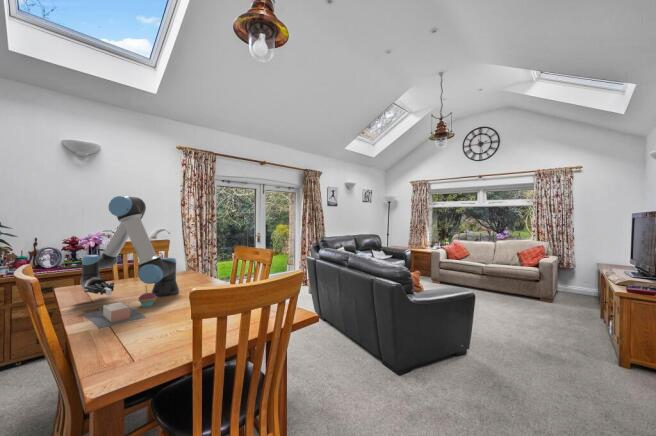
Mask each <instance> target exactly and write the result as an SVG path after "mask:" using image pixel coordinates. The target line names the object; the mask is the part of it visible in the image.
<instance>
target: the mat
mask: <svg viewBox="0 0 656 436" xmlns="http://www.w3.org/2000/svg"><path fill="white" fill-rule="evenodd" d="M125 305H126V306H128V307H130V306H129V305H127V304H125ZM83 315H84V316H85V317H86V318H87V319H88V320H89V321H91V323H93V324H94V325H95V326H96V327H97V328H98V329H99V330H100V329H104V328H105V329H106V328H108V327H113V326H117V325H120V324H124V323H128V322H131V321H132V322H133V321H136V320H140V319H144V318H145V319H146V317H147V316H146V315H144V314H142V313H141V312H139V311H137V310H136V309H134V308H133V307H130V318H128V319H124V320H120V321H116V322H111V321H110V320H108V319H107V318H106V317H104V316H103V309H101V310H95V311H90V312H85V313H83Z"/></svg>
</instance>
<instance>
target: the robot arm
mask: <svg viewBox="0 0 656 436" xmlns="http://www.w3.org/2000/svg"><path fill="white" fill-rule="evenodd" d="M146 205H147V204H146V203H145V202H144V201H143V199H141V198H139V197H136V196H128V195H117V196H114V197H113V198H112V199H111V200H110V201H109V203H108V211H109V212H110V214H112V215H114V216H115V217H116V219H117V221H118V222H119V225H118V226H117V228H116V230H115V232H114V234H113V236H112V237H111V239H110V240H109V242H108V243H107V246H106V247H105V249H104V251H103V252H102V254H101V255H98V254H89V255H87V254H86V255H83V256H82V259H81V260H82V261H81V279H80V281H79V283H80V286H81V287H82V288H84V289H83V290H84V293H91V294H95V295H98V294H100V295H104V294H105V295H106V296H112V292H114V288H115V282H111V283H107V282H106V280H104V279H102V278H100V270H103V269H106V268H111V267H113V266H115V265H117V263H118V261H119V260H118V256H119V254H120V253H121V250H122V249H123V248H124V246H125V244H126V242H127V240H128V239H129V240H130V242H131V245H132V246H133V249H134V251H135V253H136V255H137V258H138V260H139V262H138V265H137V266H138V268H139V270H138V272H137V276H138V278H139V280H140V281H141V282H142V283H144V284H145V285H153V287H152V289H151V293H154V294H156V295H157V298H161V297H170V296H175V295H177V294H179V291H180V288H179V286H178V282H177V259H176V258H174V257H161V256H160V255H157V254H156V251H155V248H154V247H153V245H152V242H151V240H150V237H149V235H148V233H147V231H146V228H145V226H144V223H143V221H142V219H143V218H144V215H145V213H146V210H147V209H146V208H147V207H146Z"/></svg>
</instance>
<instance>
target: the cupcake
mask: <svg viewBox="0 0 656 436" xmlns="http://www.w3.org/2000/svg"><path fill="white" fill-rule="evenodd" d="M157 298H158V297H157V295H156V294H154V293H152V292H148V284H145V293H142V294H141V295H140V296H139V297H138V302H139V303H140V304H141V307H142V308H148V307H152V306H153V304H154V302H155V300H157Z"/></svg>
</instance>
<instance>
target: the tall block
mask: <svg viewBox="0 0 656 436" xmlns="http://www.w3.org/2000/svg"><path fill="white" fill-rule="evenodd" d="M126 305H127V304H125V303H123V302H122V301H118V302H114V303H109V304H104V305H103V306H102V310H103V316H104V317H106V318H107V319H108V320H110V321H111V322H116V321H120V320H124V319H128V318H130V306H129V305H128V306H129V307H128V306H126Z"/></svg>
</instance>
